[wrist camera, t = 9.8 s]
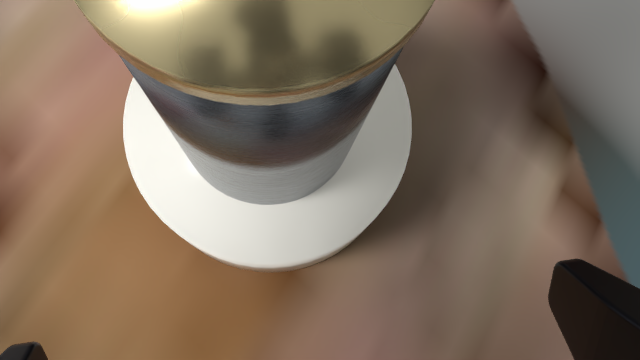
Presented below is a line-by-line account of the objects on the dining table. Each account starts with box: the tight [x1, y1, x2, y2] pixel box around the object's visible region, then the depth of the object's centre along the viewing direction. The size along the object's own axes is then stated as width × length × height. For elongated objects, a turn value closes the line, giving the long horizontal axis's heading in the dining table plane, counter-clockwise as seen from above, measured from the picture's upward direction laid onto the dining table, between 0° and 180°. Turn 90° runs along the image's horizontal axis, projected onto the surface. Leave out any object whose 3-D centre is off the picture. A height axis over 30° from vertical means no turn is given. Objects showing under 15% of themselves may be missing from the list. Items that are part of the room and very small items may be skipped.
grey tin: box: [74, 0, 435, 205], centre depth 13 cm, size 6×6×11 cm
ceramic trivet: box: [123, 64, 412, 272], centre depth 21 cm, size 10×10×4 cm
